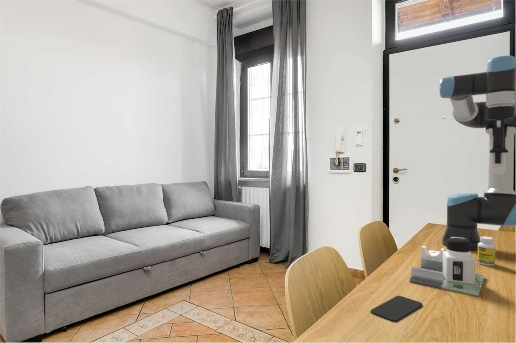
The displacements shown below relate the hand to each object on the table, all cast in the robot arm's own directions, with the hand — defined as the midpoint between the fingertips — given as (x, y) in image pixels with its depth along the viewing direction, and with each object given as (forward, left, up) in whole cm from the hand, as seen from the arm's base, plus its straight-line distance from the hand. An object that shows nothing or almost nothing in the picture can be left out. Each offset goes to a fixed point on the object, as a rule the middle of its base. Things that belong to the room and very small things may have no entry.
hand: (499, 173), depth 108 cm
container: (+11, -9, -34) cm, 37 cm away
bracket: (-5, -19, -35) cm, 40 cm away
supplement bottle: (-16, -4, -35) cm, 38 cm away
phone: (+42, -19, -35) cm, 58 cm away
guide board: (+11, -12, -34) cm, 38 cm away
